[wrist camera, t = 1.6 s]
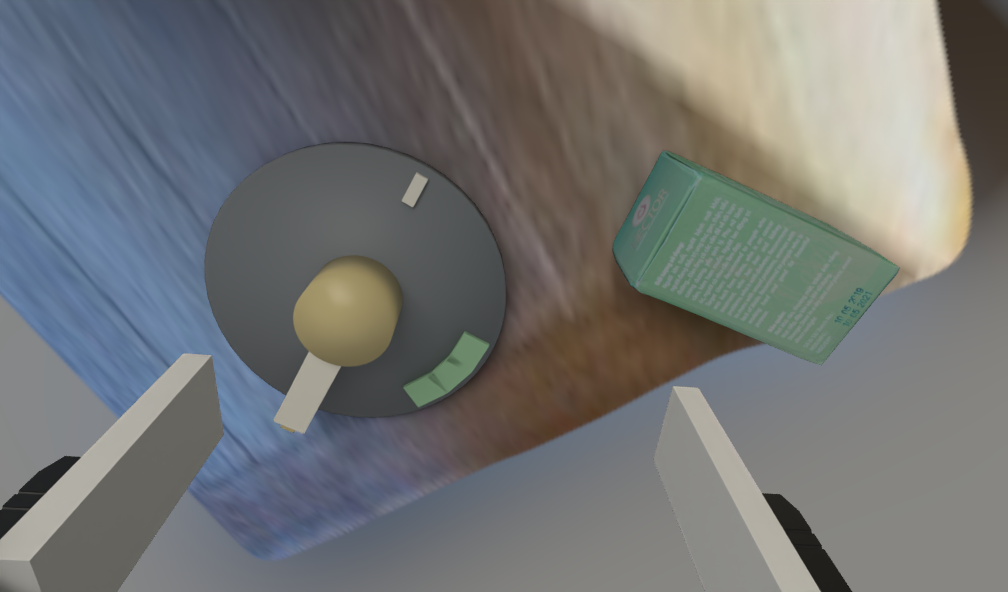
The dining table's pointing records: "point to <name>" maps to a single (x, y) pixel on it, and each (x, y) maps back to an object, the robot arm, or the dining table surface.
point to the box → (747, 260)
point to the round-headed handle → (339, 329)
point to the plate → (365, 232)
